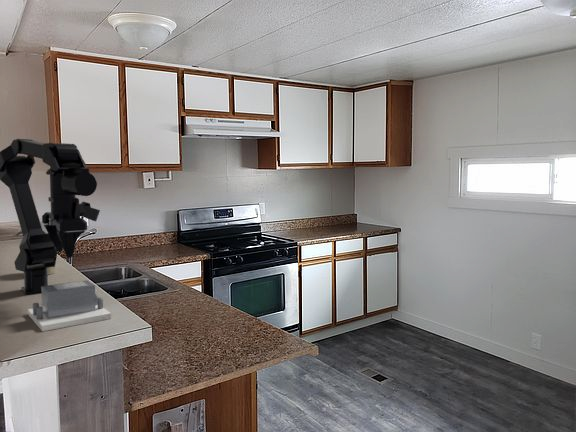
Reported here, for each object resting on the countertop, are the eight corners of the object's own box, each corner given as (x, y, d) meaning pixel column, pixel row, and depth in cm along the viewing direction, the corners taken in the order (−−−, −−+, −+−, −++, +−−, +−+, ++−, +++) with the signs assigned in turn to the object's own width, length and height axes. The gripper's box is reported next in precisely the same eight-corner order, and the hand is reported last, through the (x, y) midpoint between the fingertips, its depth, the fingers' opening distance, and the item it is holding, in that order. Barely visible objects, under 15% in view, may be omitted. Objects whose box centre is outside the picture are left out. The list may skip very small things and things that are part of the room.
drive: (42, 311, 109) (41, 285, 108) (87, 304, 115) (86, 279, 114) (48, 318, 104) (47, 291, 103) (95, 310, 110) (94, 285, 110)
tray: (27, 314, 110) (27, 298, 110) (91, 303, 119) (91, 289, 119) (42, 331, 100) (41, 314, 99) (111, 318, 109) (110, 302, 108)
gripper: (108, 195, 117) (109, 257, 119) (85, 190, 131) (86, 246, 133) (59, 196, 110) (61, 262, 112) (40, 191, 124) (42, 249, 126)
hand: (64, 254), depth 121 cm, fingers open, 9 cm apart
